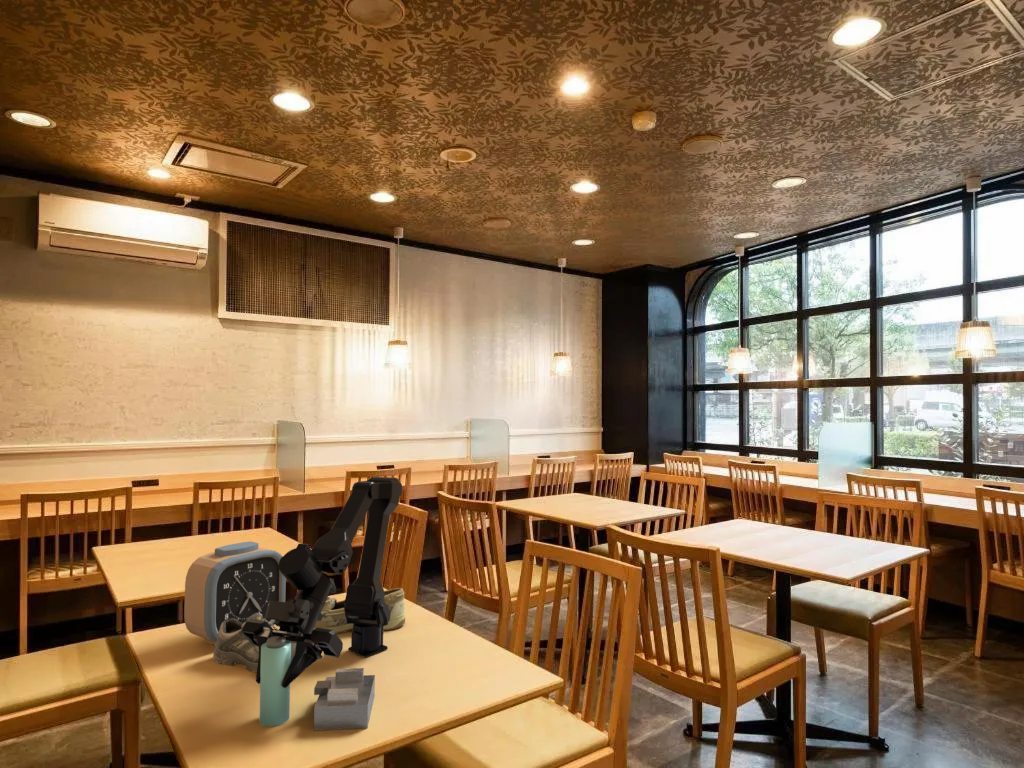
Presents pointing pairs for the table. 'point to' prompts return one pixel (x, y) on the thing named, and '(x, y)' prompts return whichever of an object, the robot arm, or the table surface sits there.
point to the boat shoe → (337, 623)
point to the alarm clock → (231, 587)
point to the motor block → (344, 700)
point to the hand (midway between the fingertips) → (270, 684)
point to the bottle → (274, 681)
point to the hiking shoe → (238, 645)
